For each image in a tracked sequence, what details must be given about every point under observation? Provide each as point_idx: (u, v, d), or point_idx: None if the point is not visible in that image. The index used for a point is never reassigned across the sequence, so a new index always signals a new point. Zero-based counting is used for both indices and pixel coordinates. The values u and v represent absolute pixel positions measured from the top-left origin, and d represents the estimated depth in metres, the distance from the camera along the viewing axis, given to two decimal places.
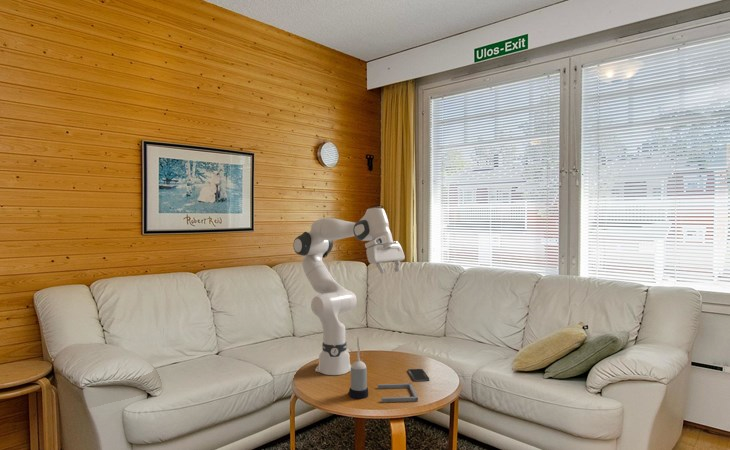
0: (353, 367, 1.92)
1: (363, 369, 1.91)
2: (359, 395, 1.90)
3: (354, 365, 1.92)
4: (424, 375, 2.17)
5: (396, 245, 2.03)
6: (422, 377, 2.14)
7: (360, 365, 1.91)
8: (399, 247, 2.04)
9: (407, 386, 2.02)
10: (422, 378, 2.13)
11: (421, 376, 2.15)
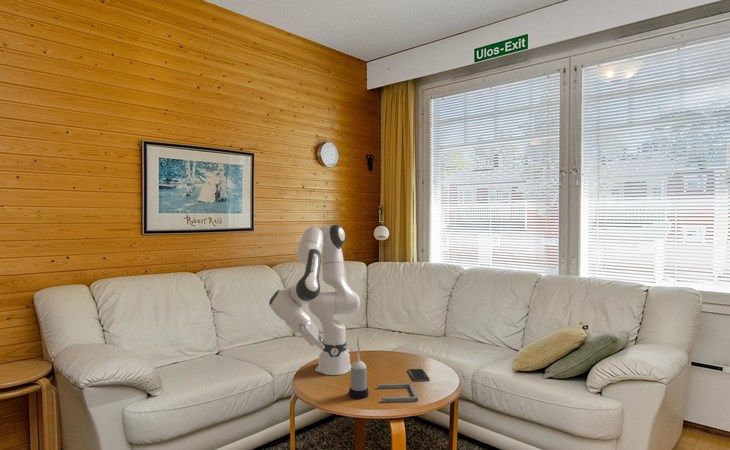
0: (353, 367, 1.92)
1: (363, 369, 1.91)
2: (359, 395, 1.90)
3: (354, 365, 1.92)
4: (424, 375, 2.17)
5: None
6: (422, 377, 2.14)
7: (360, 365, 1.91)
8: None
9: (407, 386, 2.02)
10: (422, 378, 2.13)
11: (421, 376, 2.15)
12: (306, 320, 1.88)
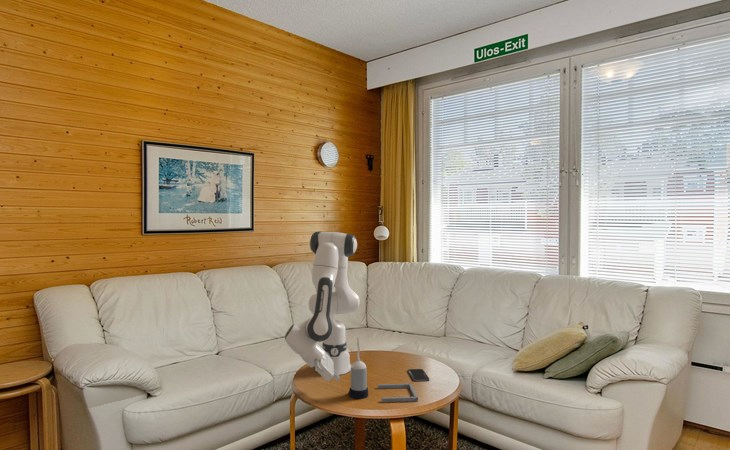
0: (353, 367, 1.92)
1: (363, 369, 1.91)
2: (359, 395, 1.90)
3: (354, 365, 1.92)
4: (424, 375, 2.17)
5: None
6: (422, 377, 2.14)
7: (360, 365, 1.91)
8: None
9: (407, 386, 2.02)
10: (422, 378, 2.13)
11: (421, 376, 2.15)
12: (321, 355, 1.89)
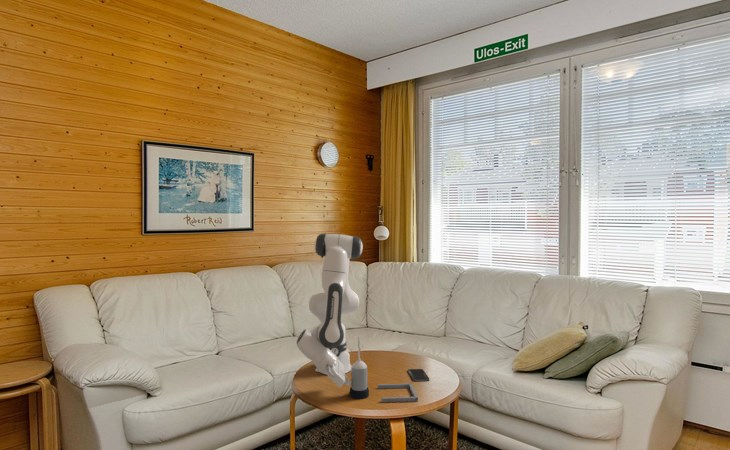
0: (354, 367, 1.92)
1: (364, 369, 1.91)
2: (359, 395, 1.90)
3: (355, 365, 1.92)
4: (424, 375, 2.17)
5: None
6: (422, 377, 2.14)
7: (361, 365, 1.91)
8: None
9: (407, 386, 2.02)
10: (422, 378, 2.13)
11: (421, 376, 2.15)
12: (333, 360, 1.90)
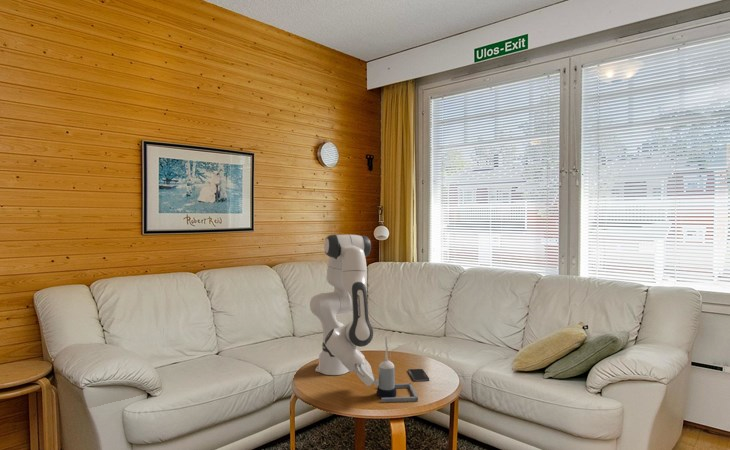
0: (381, 366, 1.92)
1: (391, 369, 1.92)
2: (387, 394, 1.90)
3: (382, 364, 1.93)
4: (424, 375, 2.17)
5: None
6: (422, 377, 2.14)
7: (388, 365, 1.92)
8: None
9: (407, 386, 2.02)
10: (422, 378, 2.13)
11: (421, 376, 2.15)
12: (361, 359, 1.90)
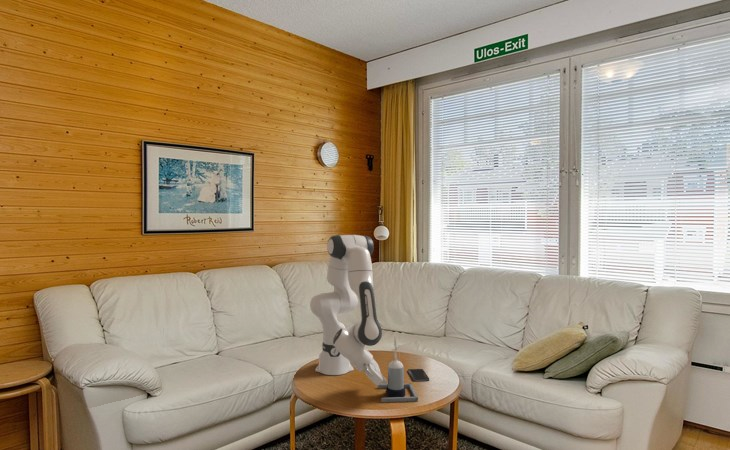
0: (390, 366, 1.93)
1: (400, 368, 1.92)
2: (396, 394, 1.91)
3: (391, 364, 1.93)
4: (424, 375, 2.17)
5: (365, 372, 1.88)
6: (422, 377, 2.14)
7: (397, 365, 1.92)
8: None
9: (407, 386, 2.02)
10: (422, 378, 2.13)
11: (421, 376, 2.15)
12: (370, 359, 1.91)
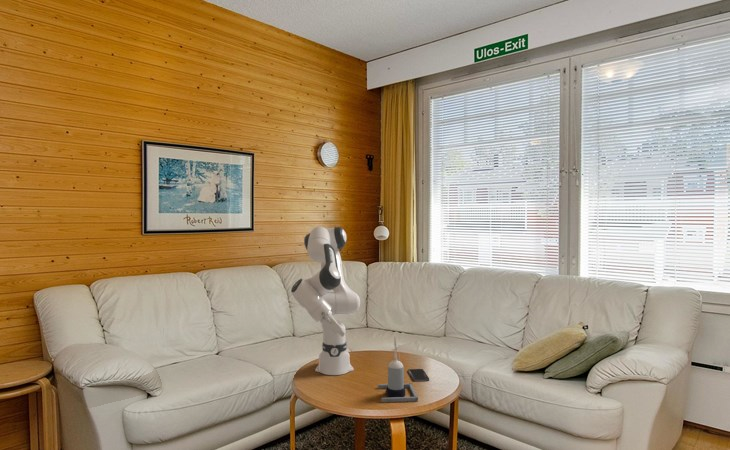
0: (390, 366, 1.93)
1: (400, 368, 1.92)
2: (396, 394, 1.91)
3: (391, 364, 1.93)
4: (424, 375, 2.17)
5: None
6: (422, 377, 2.14)
7: (397, 365, 1.92)
8: (325, 323, 1.85)
9: (407, 386, 2.02)
10: (422, 378, 2.13)
11: (421, 376, 2.15)
12: (328, 309, 1.90)
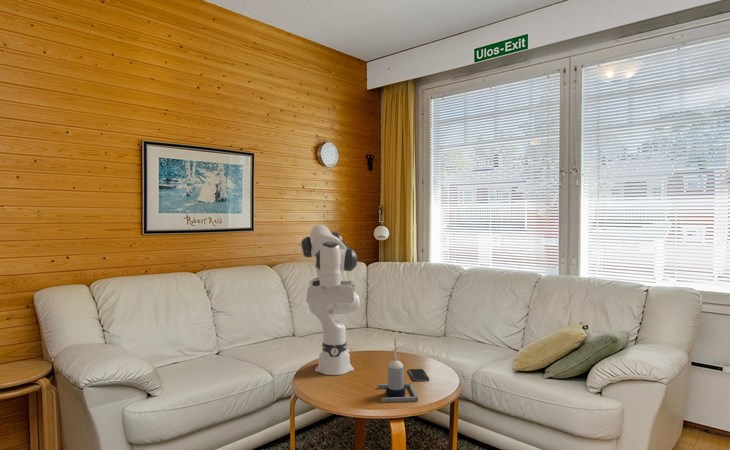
0: (390, 366, 1.93)
1: (400, 368, 1.92)
2: (396, 394, 1.91)
3: (391, 364, 1.93)
4: (424, 375, 2.17)
5: (344, 287, 1.91)
6: (422, 377, 2.14)
7: (397, 365, 1.92)
8: (348, 289, 1.91)
9: (407, 386, 2.02)
10: (422, 378, 2.13)
11: (421, 376, 2.15)
12: None
